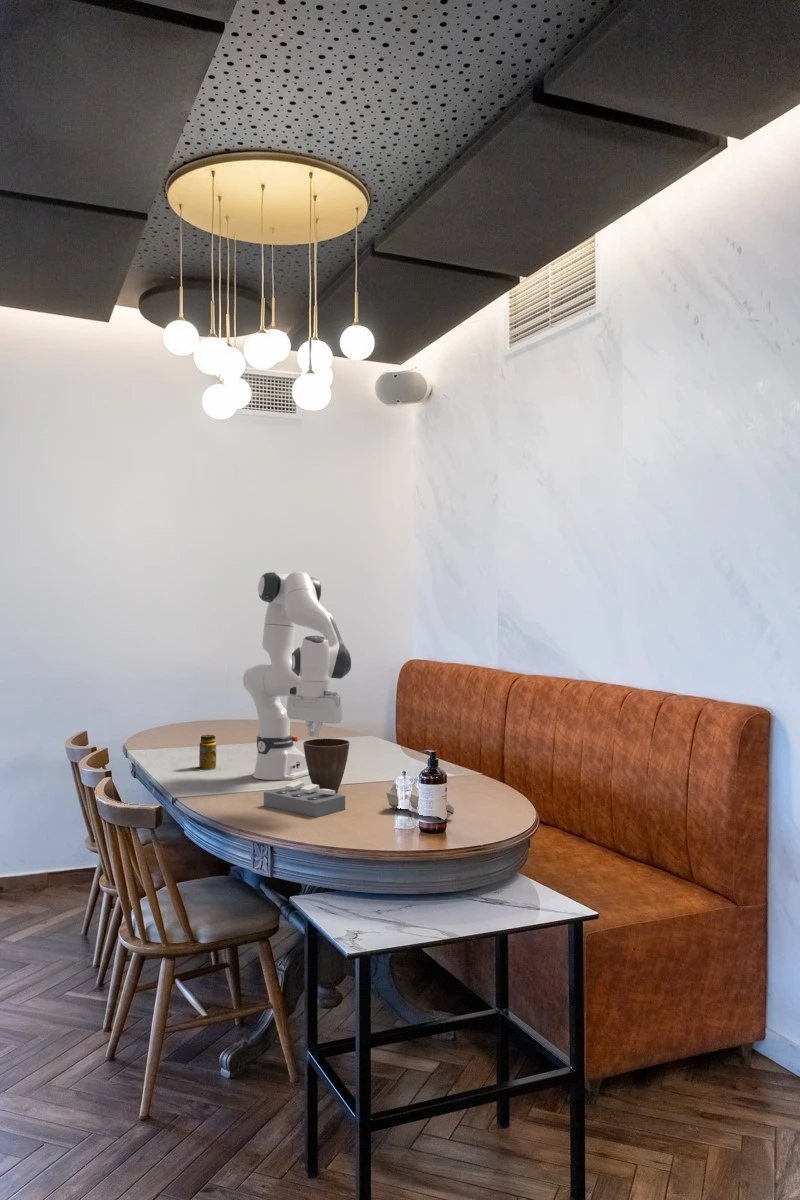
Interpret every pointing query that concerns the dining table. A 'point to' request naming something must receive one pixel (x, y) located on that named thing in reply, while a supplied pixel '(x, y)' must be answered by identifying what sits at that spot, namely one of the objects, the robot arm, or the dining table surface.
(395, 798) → the faceted club
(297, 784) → the rocker
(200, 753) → the condiment
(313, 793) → the switch panel
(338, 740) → the plant pot
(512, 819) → the dining table surface
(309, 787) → the rocker
